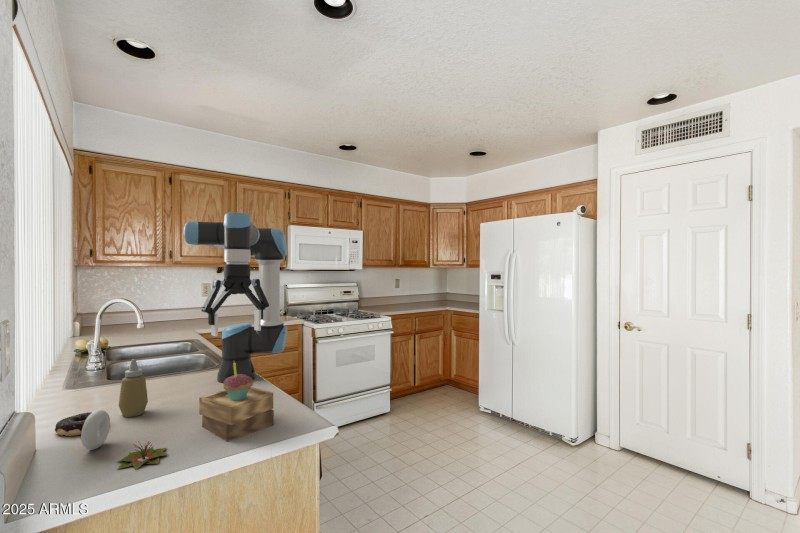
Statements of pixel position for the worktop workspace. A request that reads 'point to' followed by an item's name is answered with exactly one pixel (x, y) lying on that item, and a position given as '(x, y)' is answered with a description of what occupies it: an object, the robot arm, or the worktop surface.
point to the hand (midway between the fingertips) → (237, 333)
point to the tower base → (238, 425)
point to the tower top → (235, 405)
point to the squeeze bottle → (133, 392)
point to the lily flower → (142, 456)
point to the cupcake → (237, 385)
